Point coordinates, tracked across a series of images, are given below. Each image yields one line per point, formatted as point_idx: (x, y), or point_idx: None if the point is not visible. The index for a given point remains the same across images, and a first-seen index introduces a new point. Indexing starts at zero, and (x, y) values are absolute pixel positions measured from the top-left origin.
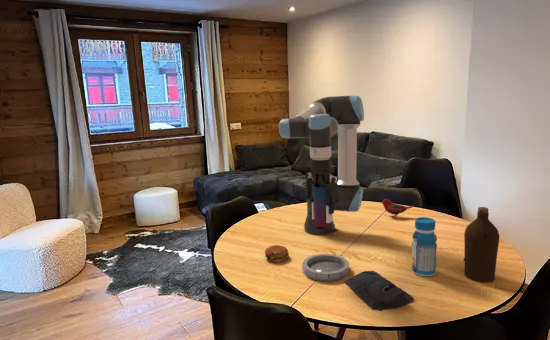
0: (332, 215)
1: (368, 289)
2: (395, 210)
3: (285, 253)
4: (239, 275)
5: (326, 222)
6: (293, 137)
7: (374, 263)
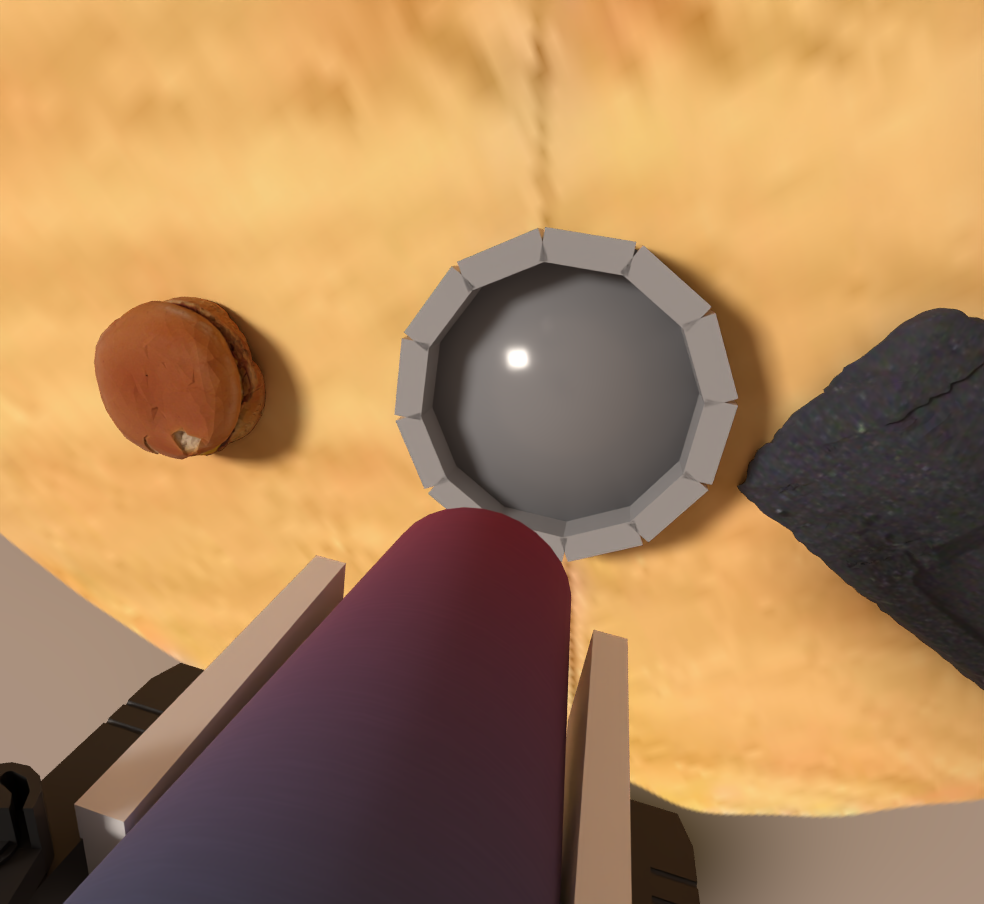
0: (627, 718)
1: (955, 590)
2: None
3: (235, 390)
4: (213, 631)
5: (568, 726)
6: None
7: (886, 64)
